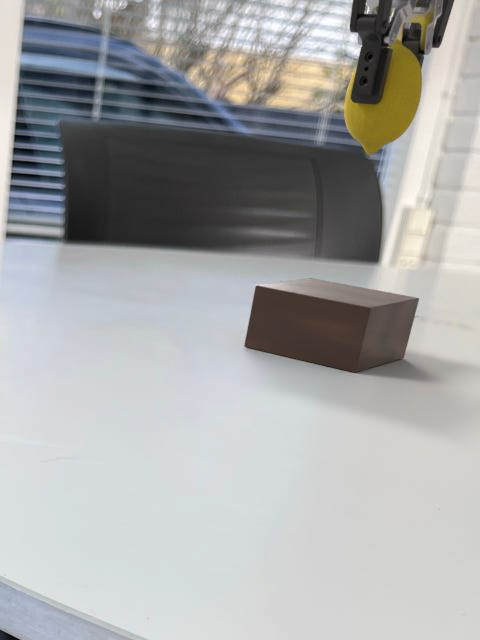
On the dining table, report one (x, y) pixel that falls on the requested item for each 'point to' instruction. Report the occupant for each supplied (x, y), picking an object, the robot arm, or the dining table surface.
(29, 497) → the dining table surface
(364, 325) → the block
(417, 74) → the lemon
